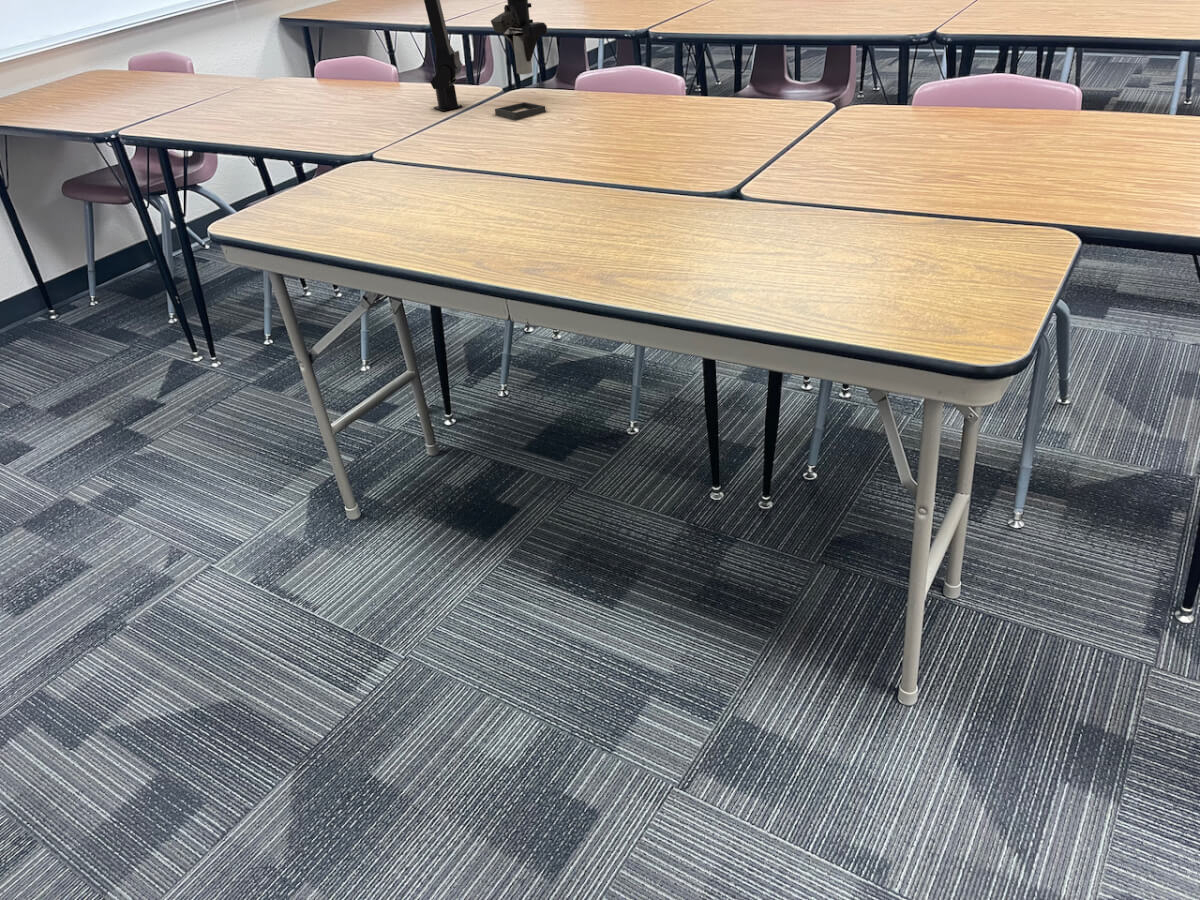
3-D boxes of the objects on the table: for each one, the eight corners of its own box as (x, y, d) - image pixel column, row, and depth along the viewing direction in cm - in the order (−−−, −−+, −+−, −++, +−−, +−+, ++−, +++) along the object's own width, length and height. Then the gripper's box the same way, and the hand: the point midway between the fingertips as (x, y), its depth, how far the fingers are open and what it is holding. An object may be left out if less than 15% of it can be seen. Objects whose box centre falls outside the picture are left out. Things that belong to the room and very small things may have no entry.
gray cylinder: (533, 70, 248) (529, 32, 242) (531, 74, 245) (527, 35, 239) (518, 71, 249) (514, 32, 243) (515, 74, 245) (511, 36, 239)
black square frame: (495, 116, 243) (494, 108, 242) (525, 109, 248) (524, 102, 247) (515, 120, 236) (514, 113, 235) (546, 113, 241) (545, 106, 240)
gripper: (475, 2, 239) (483, 62, 247) (511, 4, 226) (518, 67, 235) (508, -3, 244) (515, 56, 253) (545, -1, 232) (551, 61, 240)
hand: (524, 60), depth 245 cm, fingers closed on gray cylinder, 4 cm apart
